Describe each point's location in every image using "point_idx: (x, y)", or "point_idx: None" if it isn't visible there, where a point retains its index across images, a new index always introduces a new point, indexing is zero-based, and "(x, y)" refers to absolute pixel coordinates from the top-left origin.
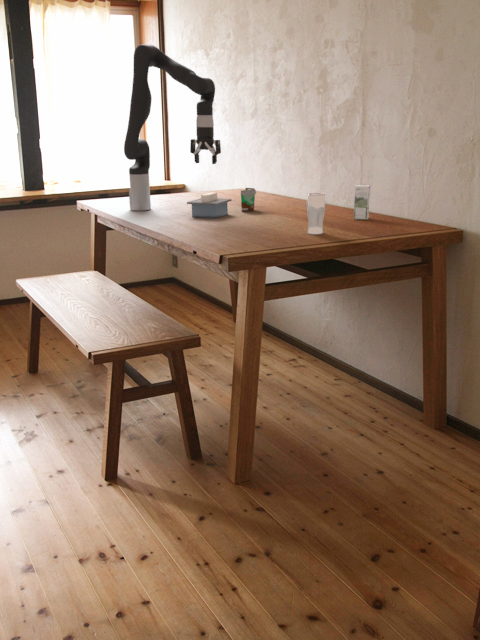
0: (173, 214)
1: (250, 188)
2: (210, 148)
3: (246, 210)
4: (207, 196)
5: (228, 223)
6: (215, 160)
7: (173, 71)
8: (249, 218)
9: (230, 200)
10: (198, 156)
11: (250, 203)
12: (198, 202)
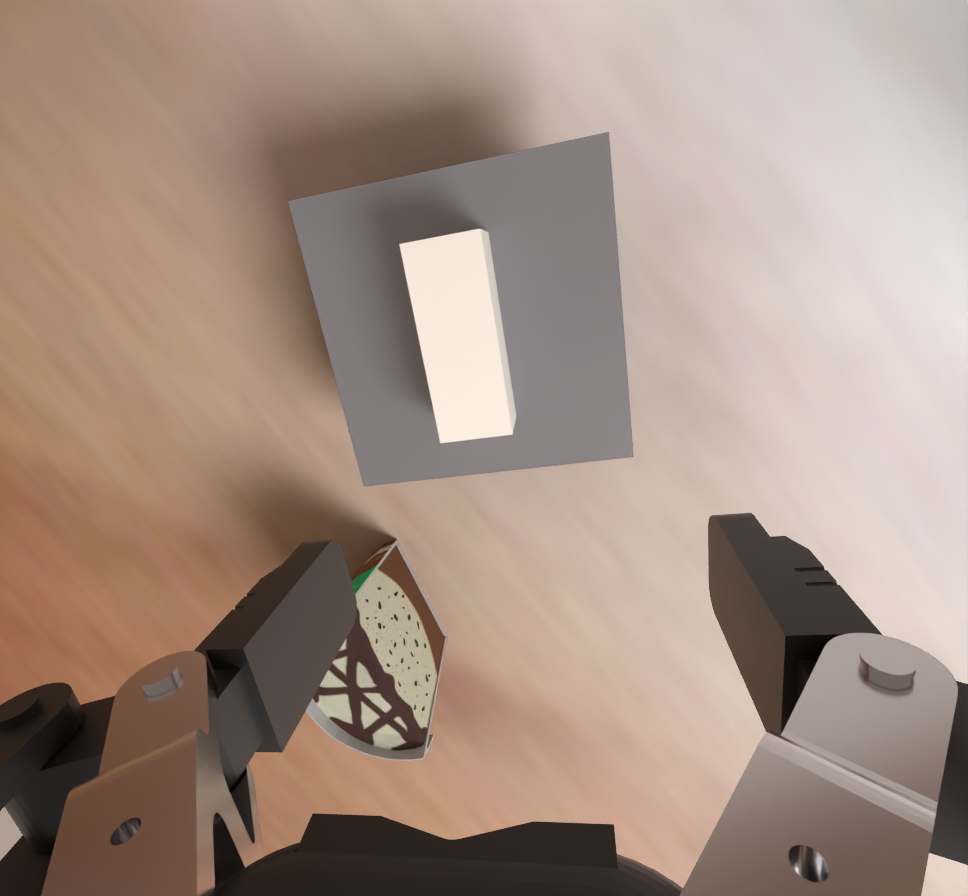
0: (797, 229)
1: (383, 753)
2: (82, 825)
3: (371, 556)
4: (408, 242)
5: (145, 80)
6: (251, 597)
7: None
8: (186, 343)
9: (361, 465)
10: (758, 683)
11: None
12: (480, 170)
